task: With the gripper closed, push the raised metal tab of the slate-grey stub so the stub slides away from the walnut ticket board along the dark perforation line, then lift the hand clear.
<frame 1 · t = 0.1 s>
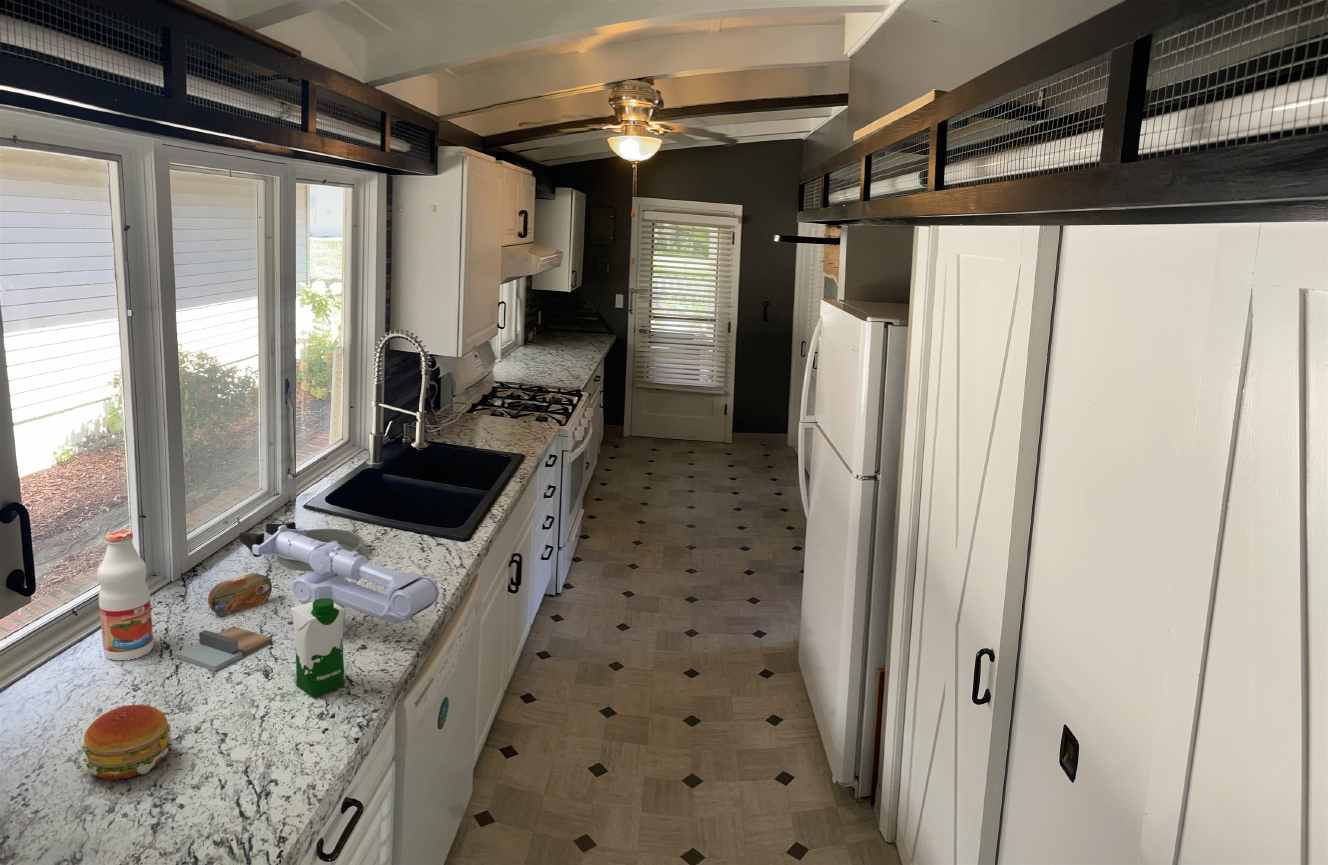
hand: (254, 532, 205), 22 cm above the countertop, tool horizontal, fingers open, 7 cm apart
ticket board: (238, 643, 195), on the countertop
milk carton: (320, 686, 180), on the countertop
burger: (130, 763, 152), on the countertop
cake pan: (318, 558, 247), on the countertop
tin: (240, 610, 212), on the countertop
fruit juice: (129, 652, 189), on the countertop
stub: (208, 649, 188), point 2 cm above the countertop, slide at 0.0 cm
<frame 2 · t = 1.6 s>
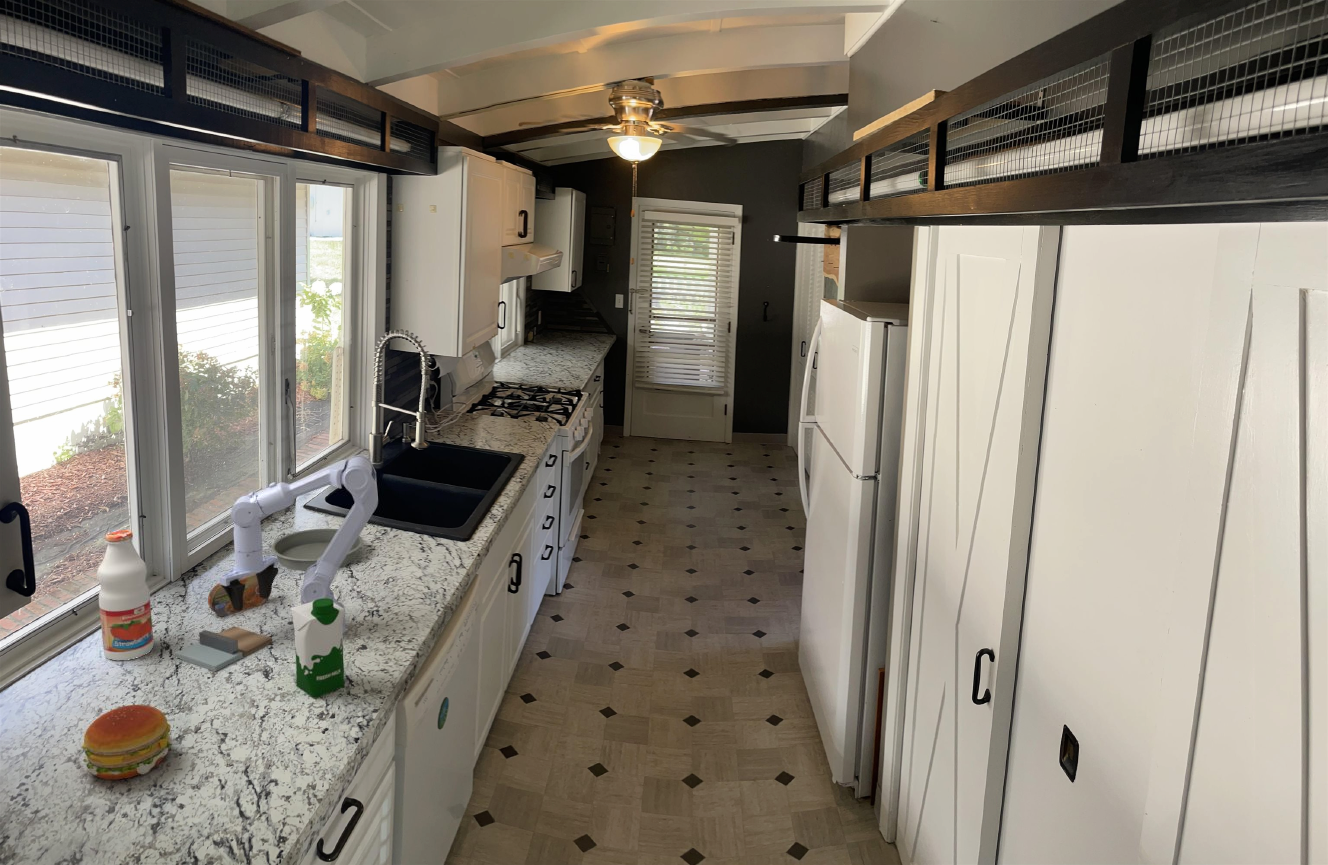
hand: (251, 603, 197), 8 cm above the countertop, tool pointing down, fingers open, 7 cm apart
nothing on the countertop moved.
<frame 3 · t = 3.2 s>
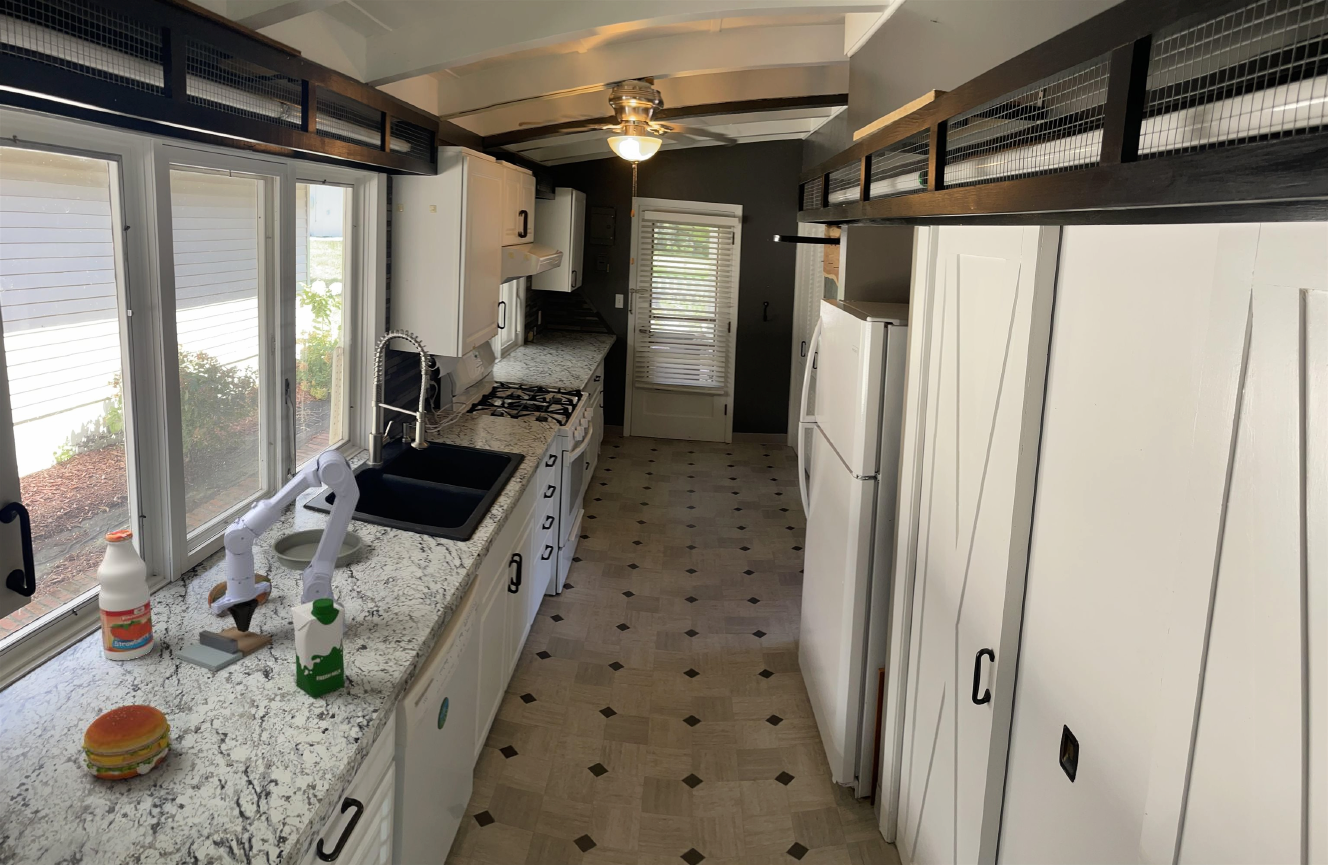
hand: (243, 630, 196), 3 cm above the countertop, tool pointing down, fingers closed
nothing on the countertop moved.
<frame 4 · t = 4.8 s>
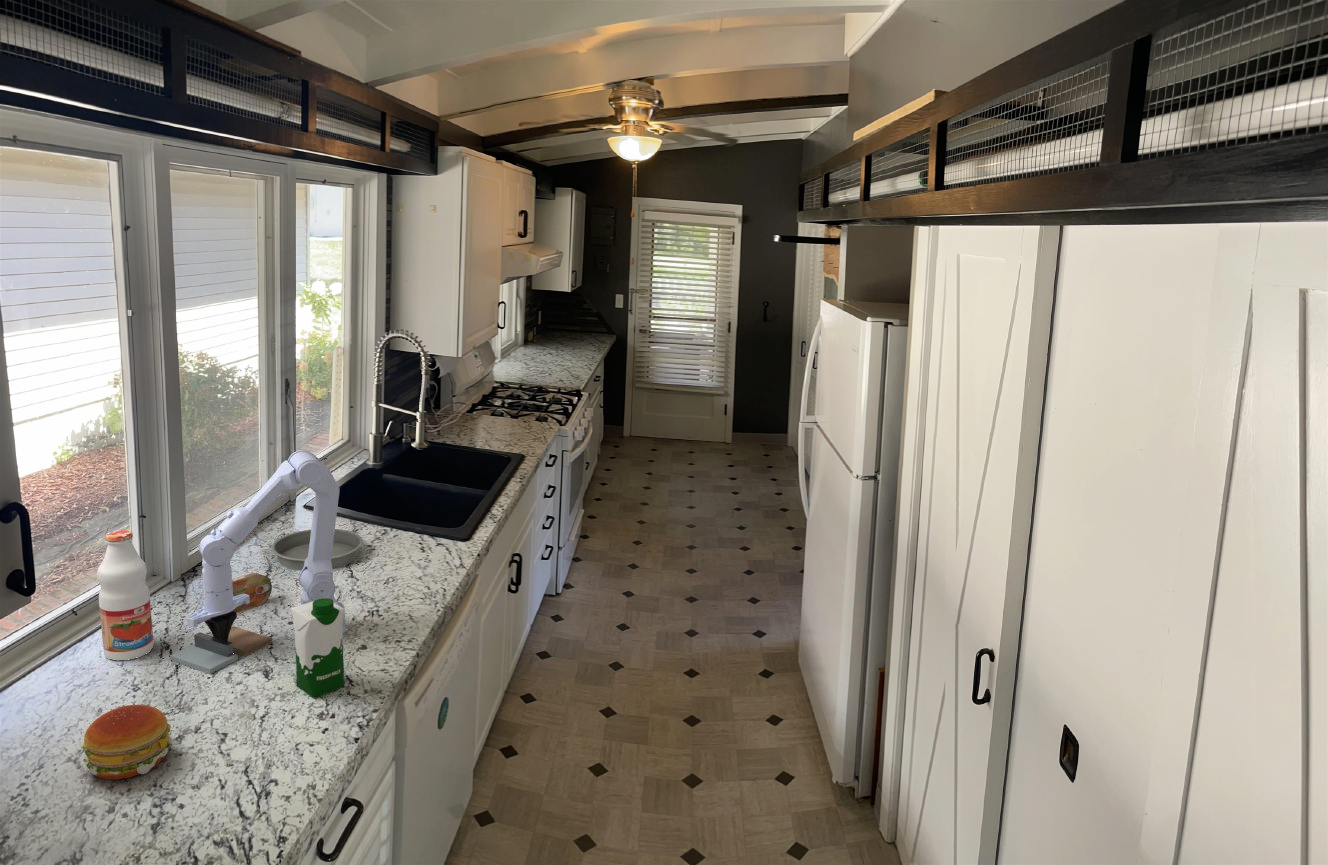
hand: (221, 643, 191), 2 cm above the countertop, tool pointing down, fingers closed
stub: (203, 651, 186), point 2 cm above the countertop, slide at 1.3 cm, touching gripper
everything else where it was.
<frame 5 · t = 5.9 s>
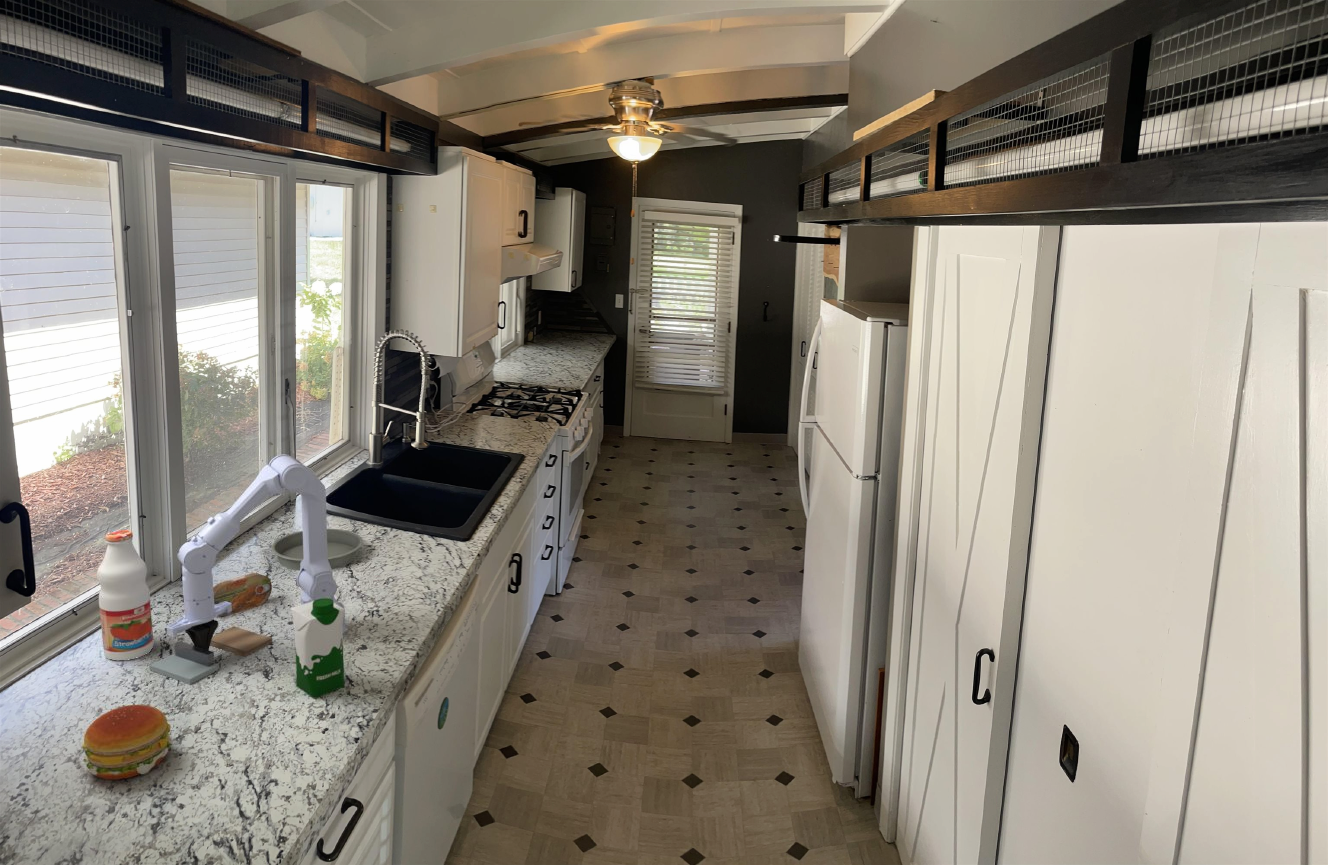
hand: (202, 653, 186), 2 cm above the countertop, tool pointing down, fingers closed
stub: (183, 661, 182), point 2 cm above the countertop, slide at 6.1 cm, touching gripper
everything else where it was.
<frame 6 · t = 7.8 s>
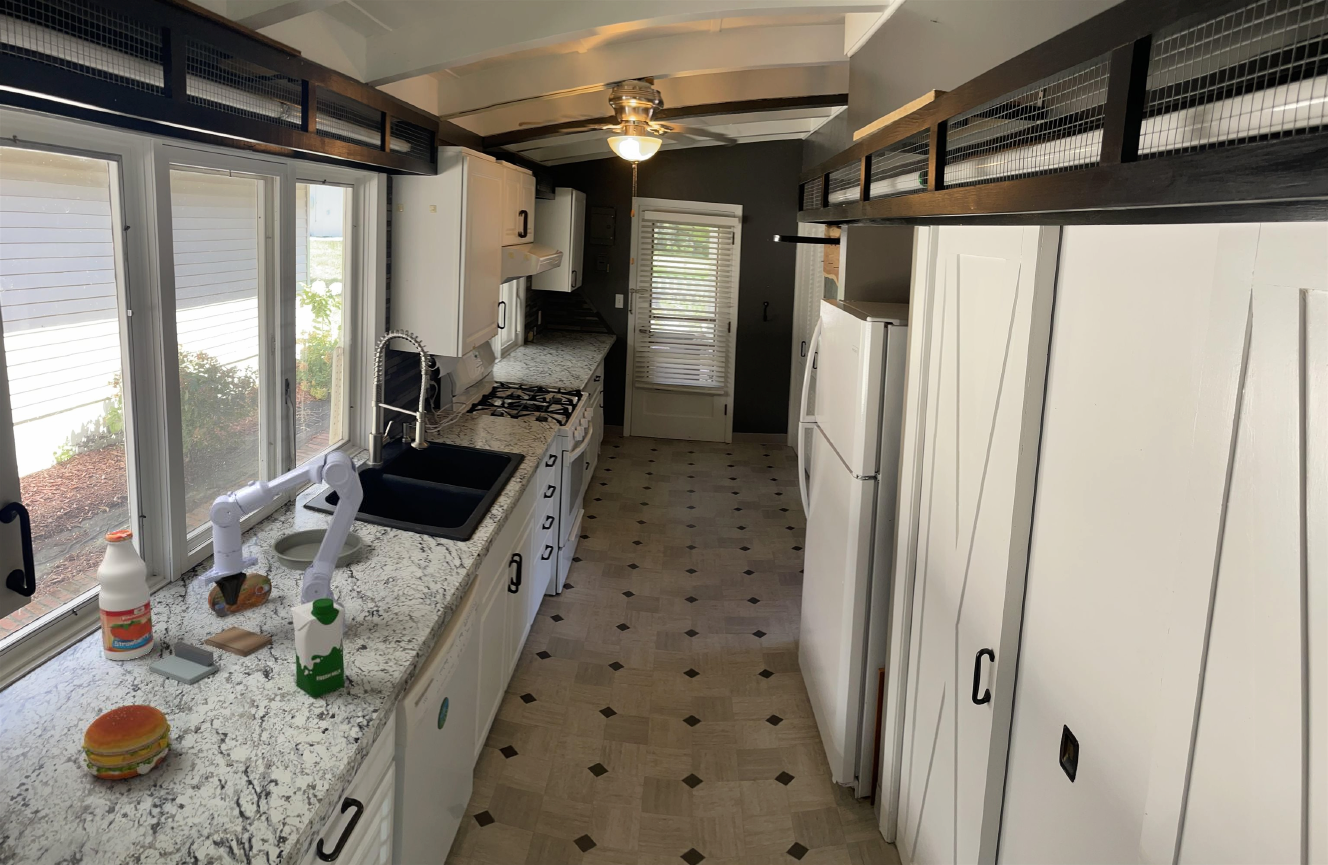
hand: (231, 604, 195), 9 cm above the countertop, tool pointing down, fingers closed
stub: (183, 661, 182), point 2 cm above the countertop, slide at 6.3 cm
everything else where it was.
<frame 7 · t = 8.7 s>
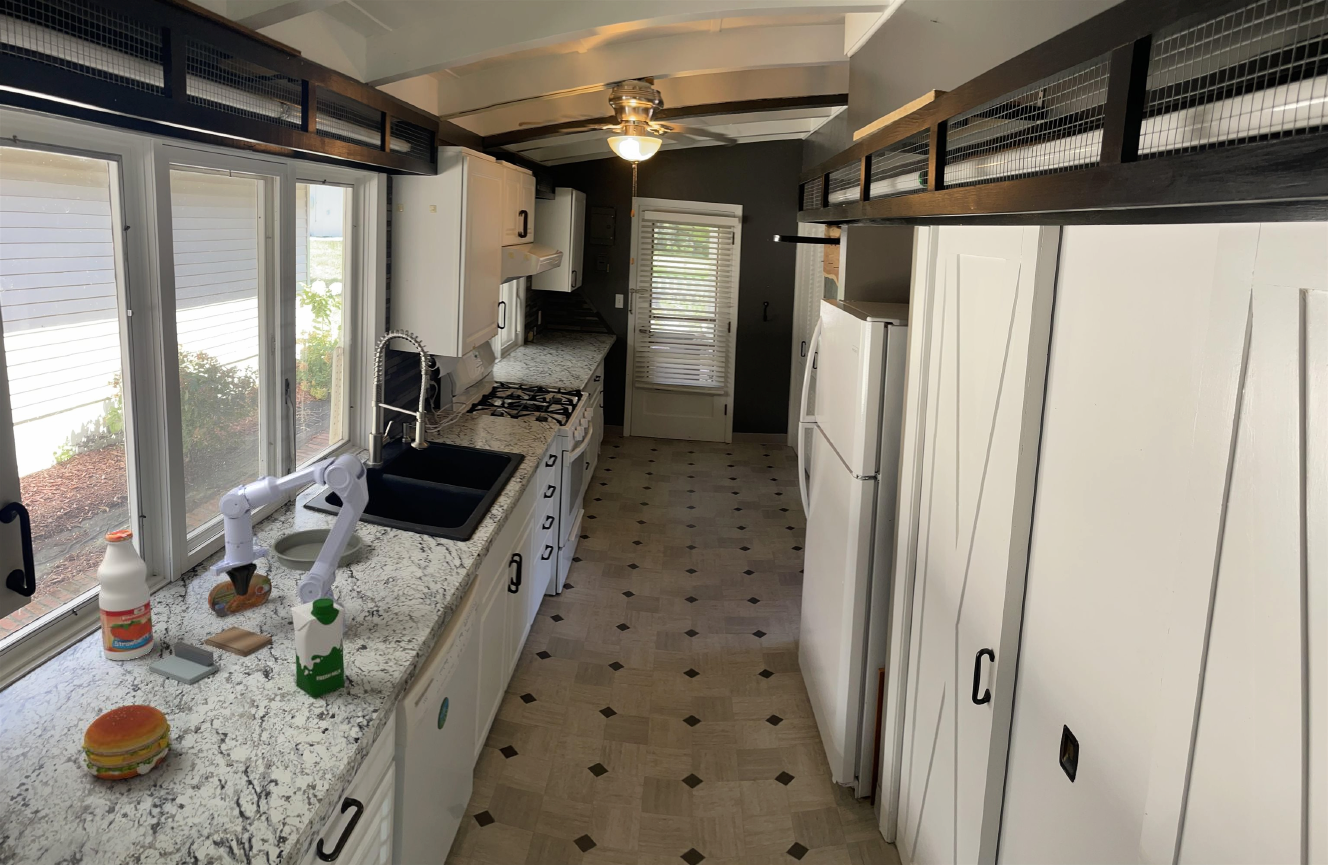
hand: (241, 594, 199), 9 cm above the countertop, tool pointing down, fingers closed
nothing on the countertop moved.
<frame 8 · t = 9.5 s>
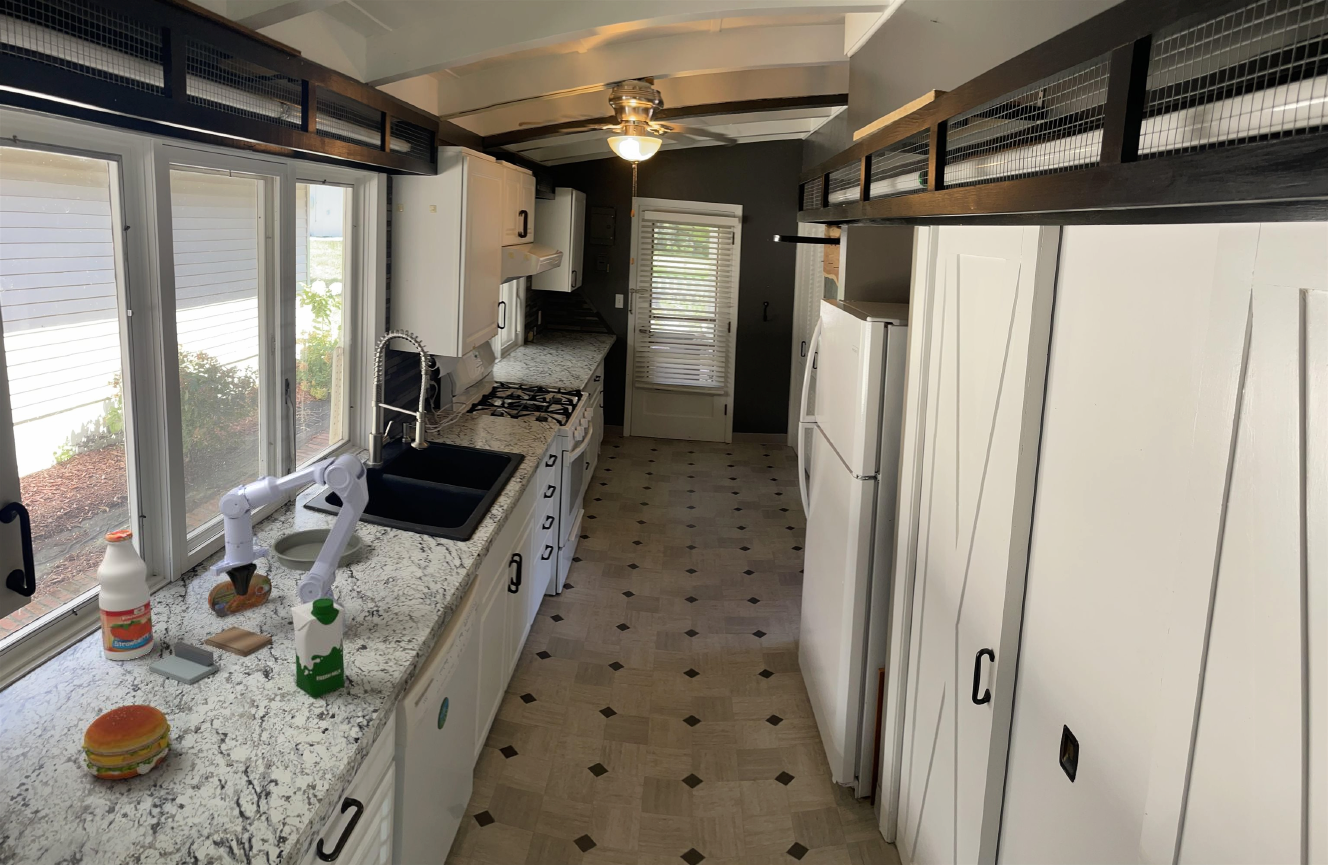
hand: (241, 594, 199), 9 cm above the countertop, tool pointing down, fingers closed
nothing on the countertop moved.
at the end: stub slide at 6.3 cm; fruit juice moved 0.2 cm from its start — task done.
